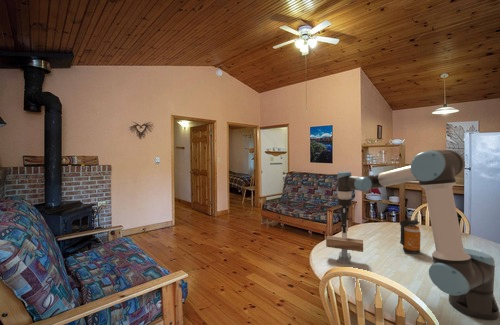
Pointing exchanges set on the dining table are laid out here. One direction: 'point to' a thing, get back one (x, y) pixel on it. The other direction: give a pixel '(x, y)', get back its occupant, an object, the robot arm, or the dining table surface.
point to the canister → (410, 236)
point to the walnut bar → (344, 243)
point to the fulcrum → (344, 257)
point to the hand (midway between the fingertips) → (345, 234)
